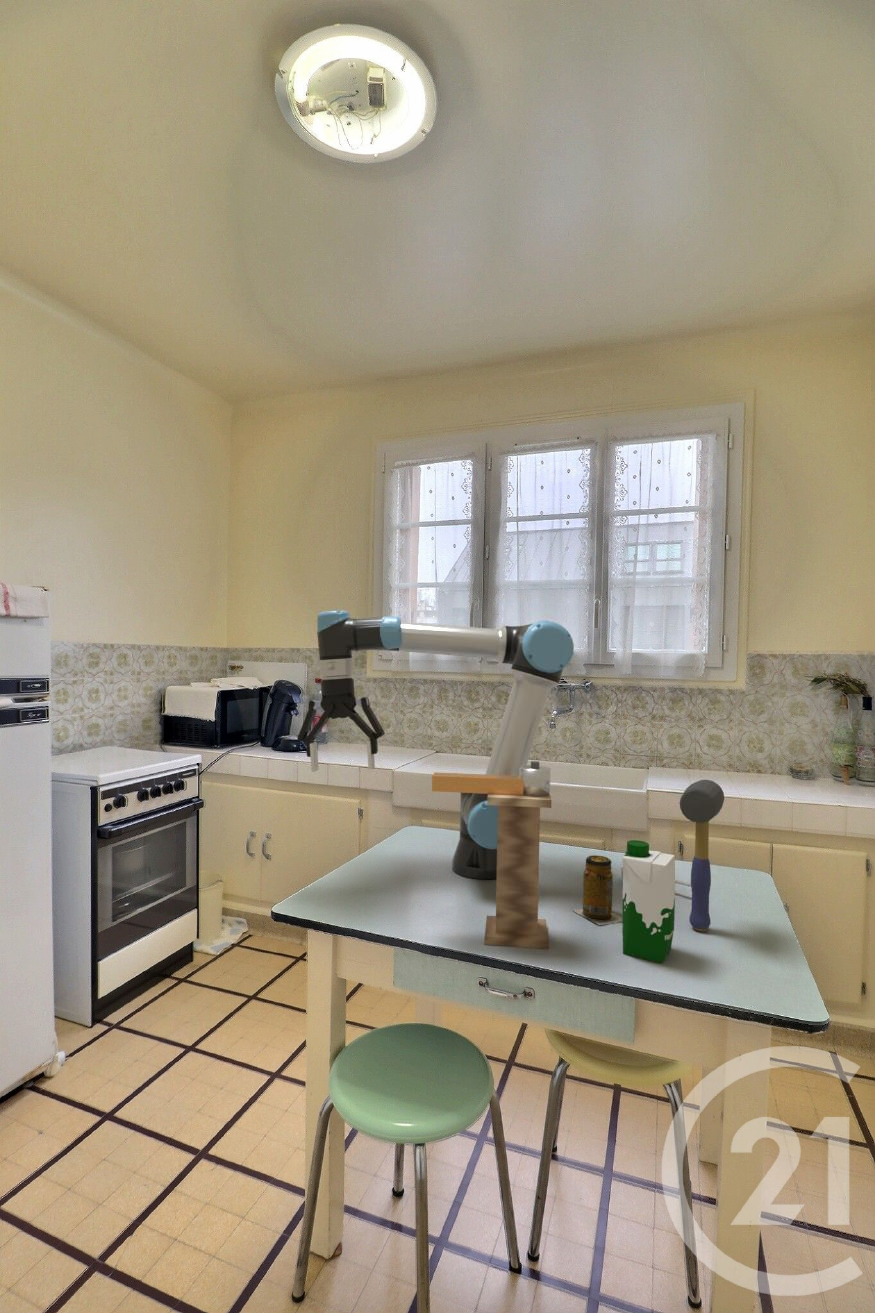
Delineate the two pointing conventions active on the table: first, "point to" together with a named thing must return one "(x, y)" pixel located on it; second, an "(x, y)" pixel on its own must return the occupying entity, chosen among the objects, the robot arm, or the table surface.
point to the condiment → (598, 891)
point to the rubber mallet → (701, 844)
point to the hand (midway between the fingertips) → (343, 769)
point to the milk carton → (648, 902)
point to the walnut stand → (517, 873)
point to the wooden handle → (497, 782)
